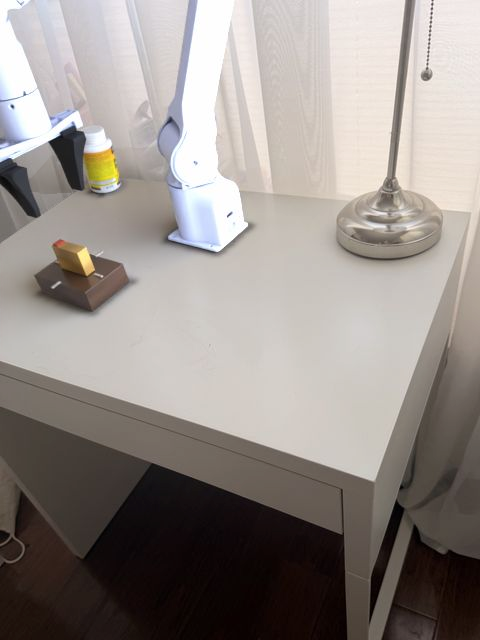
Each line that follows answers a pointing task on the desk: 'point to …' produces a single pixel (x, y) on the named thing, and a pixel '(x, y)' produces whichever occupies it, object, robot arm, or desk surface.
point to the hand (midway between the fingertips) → (56, 201)
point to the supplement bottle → (100, 161)
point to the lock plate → (83, 282)
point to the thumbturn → (73, 257)
